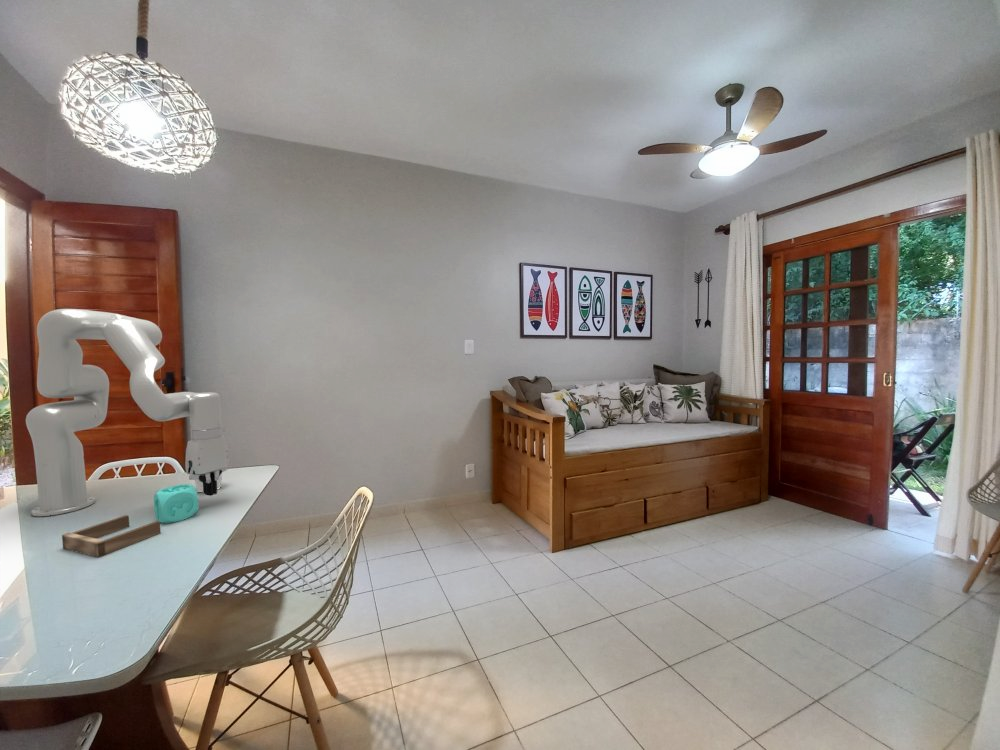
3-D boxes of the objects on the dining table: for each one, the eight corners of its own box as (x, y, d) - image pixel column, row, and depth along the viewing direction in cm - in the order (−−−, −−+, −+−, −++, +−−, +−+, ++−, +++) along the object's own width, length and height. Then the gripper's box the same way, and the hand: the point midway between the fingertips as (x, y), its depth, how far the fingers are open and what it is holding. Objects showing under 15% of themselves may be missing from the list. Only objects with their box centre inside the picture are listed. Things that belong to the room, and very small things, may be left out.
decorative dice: (154, 518, 108) (152, 490, 108) (190, 509, 114) (188, 482, 114) (162, 526, 103) (160, 496, 103) (199, 515, 110) (197, 487, 109)
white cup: (207, 494, 126) (206, 463, 125) (187, 493, 128) (185, 462, 127) (229, 486, 134) (227, 457, 133) (210, 484, 135) (208, 456, 135)
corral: (63, 548, 92) (61, 534, 92) (126, 526, 103) (125, 514, 103) (98, 557, 88) (97, 542, 87) (160, 532, 99) (159, 520, 99)
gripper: (222, 428, 125) (225, 485, 126) (170, 438, 110) (174, 502, 112) (239, 429, 122) (243, 487, 123) (188, 440, 108) (193, 505, 109)
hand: (210, 494), depth 117 cm, fingers closed
